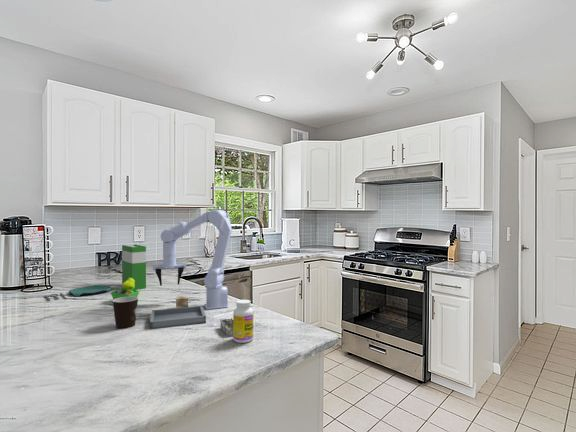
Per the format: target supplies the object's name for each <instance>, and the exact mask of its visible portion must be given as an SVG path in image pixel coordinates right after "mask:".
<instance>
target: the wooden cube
mask: <svg viewBox="0 0 576 432" xmlns="http://www.w3.org/2000/svg"><path fill="white" fill-rule="evenodd" d="M182 307H189V297H188V295H180V296H175V308H182Z"/></svg>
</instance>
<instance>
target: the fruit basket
mask: <svg viewBox="0 0 576 432" xmlns="http://www.w3.org/2000/svg"><path fill="white" fill-rule="evenodd" d="M134 283H135V280H134V279H133V278H128V279H127V280H126V281H125V282H124V283H123V284H121V285H122V288H123V289H122V288H119V289H117V290H114V291H111V292H110V295H111V296H112V301H113V300H114V299H116V298H121V297H138V296H139V294H140V290H133V289H134V287H135V284H134ZM138 298H139V297H138Z"/></svg>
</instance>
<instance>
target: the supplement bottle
mask: <svg viewBox="0 0 576 432" xmlns="http://www.w3.org/2000/svg"><path fill="white" fill-rule="evenodd" d="M235 304H236V305H235V306H236V308H235V309H234V310H233V312H232V313H233V315H232V317H233V318H232V319H233V336H232V339H233V341H234V342H236V343H240V344H246V343H249V342H250V343H251V342H252V341H253V339H254V310H253V308H252V307H251V304H252V303H251V300H249V299H238V300H236V303H235Z"/></svg>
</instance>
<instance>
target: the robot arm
mask: <svg viewBox="0 0 576 432" xmlns="http://www.w3.org/2000/svg"><path fill="white" fill-rule="evenodd" d="M205 223H211V225H213V226H214V227H215V228H216V229H217V230H218V237H217V243H216V245H215V249H214V255H213V259H212V261H211V262H212V263H211V266H210V267H209V269H208V271H207V274H206V275H205V277H204V279H203V283H204V285H205V288H206V289H205V291H206V292H205V293H206V294H205V295H206V297H205V298H206V299H205V301H206V303H204V306H205V309H206V310H213V309H223V308H228V307H229V306H228V305H229V303H228V301H229V299H228V298H229V297H228V294H229V291H228V287H227V286H223V282H224V280H225V274H224V273H225V268H224V264H225V260H226V256H227V252H228V248H229V244H230V241H231V240H230V239H231V235H232V232H233V231H232V230H233V229H232V224H231V220H230V215H229V214H228V213H227V211H226V210H224V209H211V210H210V211H206V212H204V213H202V214H201V215H198V216H197V217H194V219H191V221H188V222H187V221H179V222H178V224H177V225H175V226H170V227H169V229H164V230H163V231H161V233H160V239H161V241H162V264H157V265H156V264H154V265H152V271H155V274H156V277H157V278H158V282H159V286H161V287H162V285H163V281H162V270H174V269H175V270H177V285H180V281H181V277H182V275H183V272H184V270H185V269H187V264H186V263H177V241H178V239H180V238H183V237H184V236H186V235H188V234H190V233H191V231H192V229H194V228H197V227H198V226H200V225H202V224H205Z"/></svg>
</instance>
